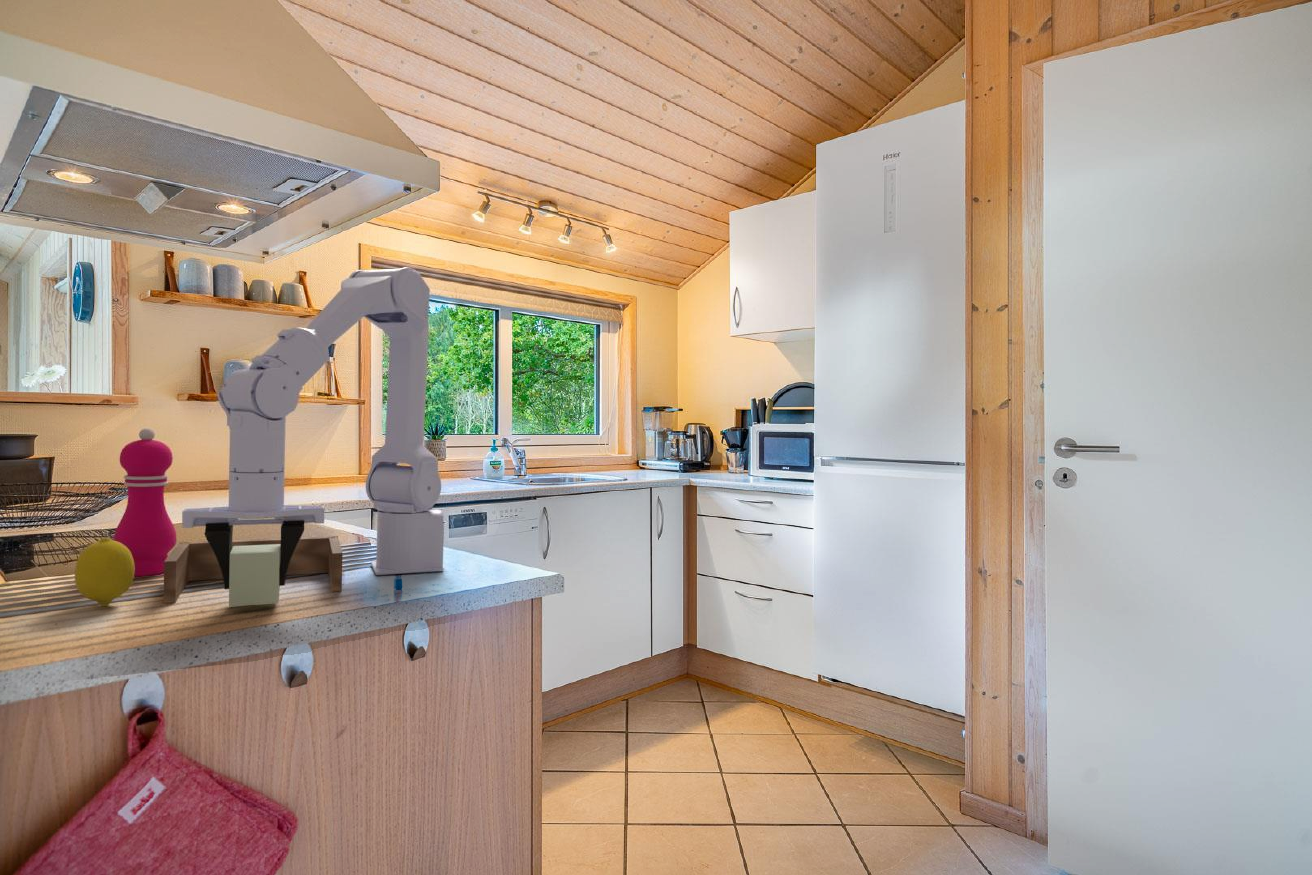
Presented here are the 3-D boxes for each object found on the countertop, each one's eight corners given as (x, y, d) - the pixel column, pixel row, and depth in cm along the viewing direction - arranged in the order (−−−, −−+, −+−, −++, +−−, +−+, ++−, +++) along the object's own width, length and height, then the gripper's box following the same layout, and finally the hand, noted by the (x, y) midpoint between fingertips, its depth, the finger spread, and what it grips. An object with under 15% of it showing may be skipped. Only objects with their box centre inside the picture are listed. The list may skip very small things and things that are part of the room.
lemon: (82, 615, 79) (83, 543, 79) (67, 605, 83) (68, 536, 82) (141, 605, 84) (142, 537, 83) (125, 596, 87) (125, 531, 87)
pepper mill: (160, 563, 105) (162, 427, 104) (186, 570, 101) (188, 429, 100) (102, 572, 98) (104, 427, 98) (128, 580, 95) (130, 429, 94)
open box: (337, 570, 105) (337, 536, 105) (341, 590, 94) (342, 552, 93) (179, 579, 96) (179, 542, 96) (163, 603, 85) (164, 561, 85)
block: (279, 592, 88) (280, 544, 88) (278, 602, 84) (279, 551, 83) (232, 595, 86) (233, 546, 86) (228, 606, 81) (229, 554, 81)
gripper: (178, 474, 77) (176, 598, 78) (326, 474, 84) (323, 588, 84) (187, 468, 84) (185, 583, 84) (324, 468, 90) (321, 575, 91)
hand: (255, 585), depth 85 cm, fingers closed on block, 5 cm apart
